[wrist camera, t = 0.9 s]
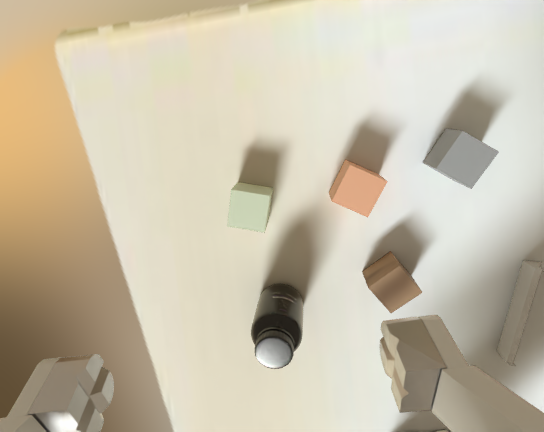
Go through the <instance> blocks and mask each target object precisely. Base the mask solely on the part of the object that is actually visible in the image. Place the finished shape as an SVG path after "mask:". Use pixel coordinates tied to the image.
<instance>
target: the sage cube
mask: <svg viewBox="0 0 544 432" xmlns="http://www.w3.org/2000/svg"><path fill="white" fill-rule="evenodd" d="M272 192H273V188H272V187H266V186H259V185H253V184H247V183H240V182H238V183H237V184H236V185H235V186H234V187H233V188H232V189H231V197H230V205H229V214H228V223H227V227H233V228H239V229H245V230H251V231H257V232H264V233H265V230H266V227H267V224H268V219H269V212H270V206H271V199H272Z"/></svg>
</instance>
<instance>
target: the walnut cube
mask: <svg viewBox="0 0 544 432" xmlns="http://www.w3.org/2000/svg"><path fill="white" fill-rule="evenodd" d="M362 272H363V275H364V278H365V280H366V283H367V286H368V288H369V289H370V290H371V291H372V292H373V294H374V295H375V296H376V297H377V298H378V299H379V300H380V301H381V303H382V304H383V305H384V306H385V307H386V308H387V309H388V310H389V312H390V313H392V312H394V311H395V310H397V309H398V308H400V307H401V306H403V305H404V304H406V303H407V302H409V301H410V300H412V299H413V298H415V297H416V296H418V295H419V294H421V293H422V291H421V290H420V288H419V287H418V285H417V284H416V282H415V281H414V279H413V278H412V276H411V275H410V274H409V272H408V271H407V270H406V269H405V268H404V267H403V265H402V264H401V263H400V262H399V261H398V260H397V258H396V257H395V256H394V255H393V254H392V252H391V251H390V252H389V253H387V254H386V255H385V256H383V257H382V258H380V259H379V260H378V261H376V262H375V263H373V264H372V265H371V266H369V267H368V268H366V269H365V270H364V271H362Z"/></svg>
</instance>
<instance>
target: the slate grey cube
mask: <svg viewBox="0 0 544 432" xmlns="http://www.w3.org/2000/svg"><path fill="white" fill-rule="evenodd" d="M497 154H498V151H497V150H495V149H493V148H491V147H490V146H488V145H486V144H485V143H483V142H481V141H479V140H478V139H476V138H474V137H473V136H471V135H469V134H467V133H466V132H464V131H461V130H453V129H445V130H444V132H443V133H442V135H441V136H440V138H439V139H438V141H437V142H436V144H435V145H434V147H433V148H432V150H431V151H430V152H429V154H428V155H427V157H426V158H425V160H424V161H423V163H424V164H426V165H427V166H429V167H431V168H433V169H434V170H436V171H438V172H440V173H441V174H443V175H445V176H447V177H448V178H450V179H452V180H454V181H456V182H458V183H460V184H462V185H464V186H466V187H469V188H471V189H472V187H473V186H474V185H475V183H476V182H477V181H478V179H479V178H480V177H481V175H482V174H483V173H484V171H485V170H486V169H487V167H488V166H489V165H490V163H491V162H492V160H493V159H494V158H495V156H496V155H497Z"/></svg>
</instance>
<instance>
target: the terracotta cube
mask: <svg viewBox="0 0 544 432" xmlns="http://www.w3.org/2000/svg"><path fill="white" fill-rule="evenodd" d="M386 183H387V181H386V180H385V179H384V178H383V177H381V176H380V175H379V174H377V173H375V172H372V171H370V170H368V169H366V168H363V167H361V166H359V165H357V164H354V163H352V162H350V161H348V160H346V159H345V161H344V163H343V165H342V167H341V169H340V171H339V173H338V175H337V177H336V179H335V181H334V183H333V185H332V187H331V189H330V191H329V195H330V198H331V201H332V202H334V203H337V204H339V205H341V206H343V207H346V208H348V209H350V210H352V211H355V212H357V213H359V214H362V215H364V216H366V217H368V216H369V214H370V213H371V211H372V209H373V207H374V205H375V203H376V202H377V200H378V198H379V196H380V194H381V192H382V191H383V189H384V187H385V185H386Z"/></svg>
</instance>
